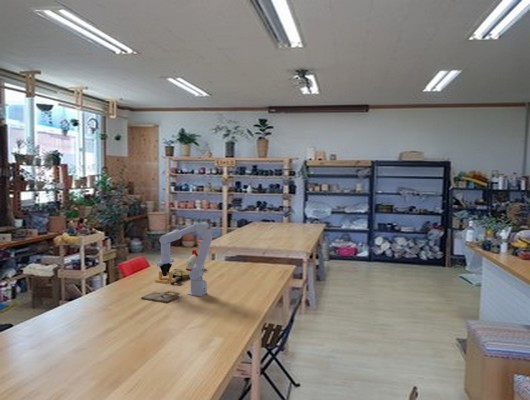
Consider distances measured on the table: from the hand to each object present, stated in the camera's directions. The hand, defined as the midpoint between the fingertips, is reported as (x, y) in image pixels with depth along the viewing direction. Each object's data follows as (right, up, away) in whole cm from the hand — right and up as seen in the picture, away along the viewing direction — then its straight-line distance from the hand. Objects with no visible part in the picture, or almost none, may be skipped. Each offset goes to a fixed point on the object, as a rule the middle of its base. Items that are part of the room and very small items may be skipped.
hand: (165, 275), depth 250 cm
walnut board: (0, -11, -14) cm, 17 cm away
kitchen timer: (+7, -7, +63) cm, 64 cm away
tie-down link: (0, -4, 0) cm, 4 cm away
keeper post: (+1, -11, -14) cm, 18 cm away
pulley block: (+1, -9, +31) cm, 32 cm away
